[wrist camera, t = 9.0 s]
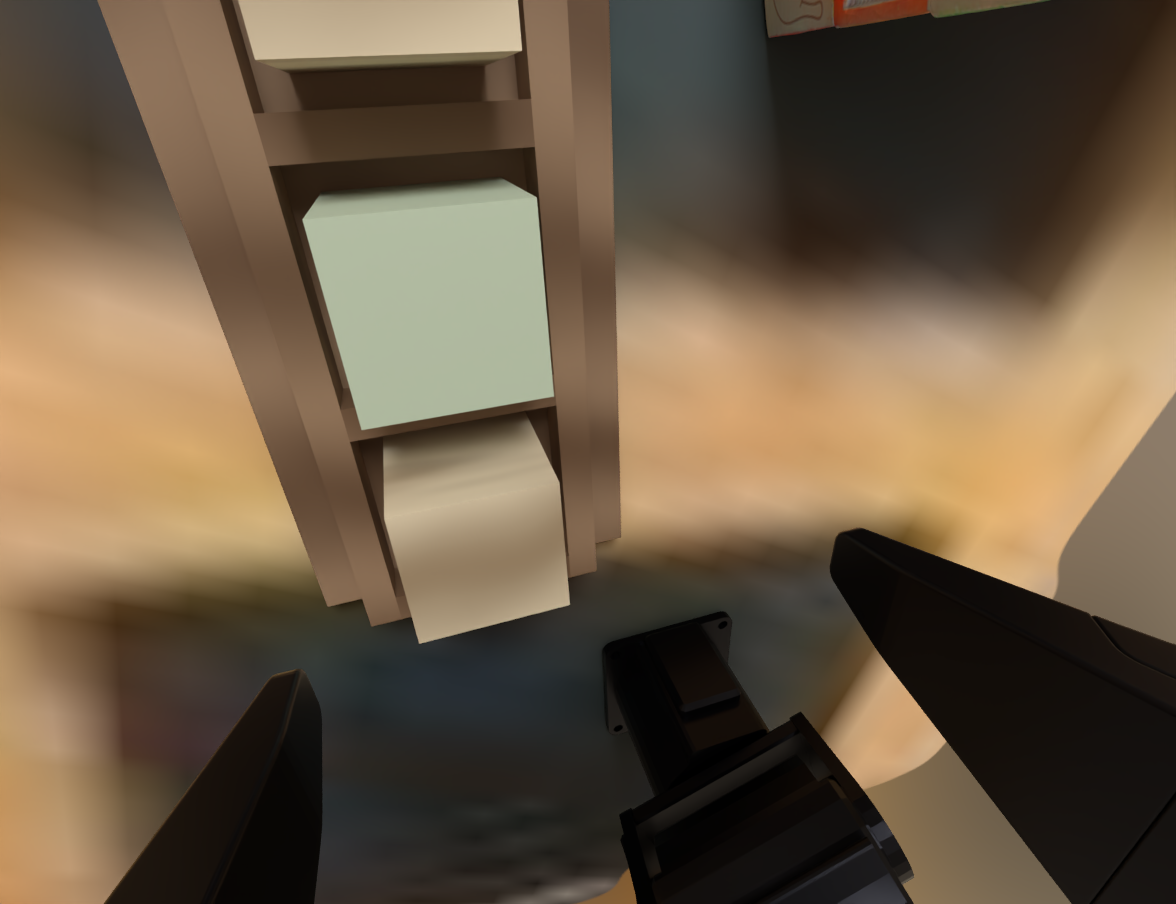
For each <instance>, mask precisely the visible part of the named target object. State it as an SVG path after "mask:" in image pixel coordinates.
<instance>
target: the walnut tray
mask: <svg viewBox="0 0 1176 904" xmlns="http://www.w3.org/2000/svg"><path fill="white" fill-rule="evenodd" d="M98 3H99V6H100V8H101V11H102V13H103V16H104V19H105V21H106V24H107V27H108V29H109V32H110V35H111V37H112V40H113V42H114V45H115V48H116V50H117V53H118V56H119V58H120V61H121V63H122V66H123V69H124V71H125V74H126V77H127V79H128V82H129V85H130V87H131V90H132V92H133V95H134V98H135V100H136V103H137V106H138V108H139V111H140V114H141V116H142V119H143V121H144V124H145V127H146V129H147V132H148V135H149V137H150V140H151V142H152V145H153V148H154V150H155V153H156V156H157V158H158V161H159V164H160V166H161V169H162V171H163V174H164V177H165V179H166V182H167V185H168V187H169V190H170V193H171V195H172V198H173V200H174V203H175V206H176V208H177V211H178V214H179V216H180V219H181V221H182V224H183V227H184V229H185V232H186V235H187V237H188V240H189V243H190V245H191V248H192V250H193V253H194V256H195V258H196V261H197V264H198V266H199V269H200V271H201V274H202V277H203V279H204V282H205V285H206V287H207V290H208V293H209V295H210V298H211V300H212V303H213V306H214V308H215V311H216V314H217V316H218V319H219V322H220V324H221V327H222V329H223V332H224V335H225V337H226V340H227V343H228V345H229V348H230V350H231V353H232V356H233V358H234V361H235V364H236V366H237V369H238V372H239V374H240V377H241V379H242V382H243V385H244V387H245V390H246V393H247V395H248V398H249V401H250V403H251V406H252V408H253V411H254V414H255V416H256V419H257V422H258V424H259V427H260V429H261V432H262V435H263V437H264V440H265V443H266V445H267V448H268V451H269V453H270V456H271V458H272V461H273V464H274V466H275V469H276V472H277V474H278V477H279V479H280V482H281V485H282V487H283V490H284V493H285V495H286V498H287V501H288V503H289V506H290V508H291V511H292V514H293V516H294V519H295V522H296V524H297V527H298V530H299V532H300V535H301V537H302V540H303V543H304V545H305V548H306V551H307V553H308V556H309V558H310V561H311V564H312V566H313V569H314V572H315V574H316V577H317V580H318V582H319V585H320V587H321V590H322V593H323V595H324V598H325V601H326V603H327V606H328V607H329V606H333V605H337V604H342V603H346V602H350V601H354V600H359V599H362V600H363V603H364V606H365V609H366V612H367V615H368V618H369V621H370V624H371V627H372V626H376V625H380V624H384V623H388V622H392V621H396V620H400V619H404V618H408V617H412V616H411V612H410V609H409V605H408V602H407V598H406V595H405V591H404V587H403V584H402V580H401V577H400V573H399V570H398V566H397V563H396V559H395V556H394V552H393V548H392V545H391V541H390V538H389V534H388V531H387V527H386V524H385V520H384V466H383V436H386V435H392V434H398V433H403V432H409V431H415V430H420V429H426V428H432V427H437V426H443V425H448V424H454V423H460V422H465V421H471V420H477V419H482V418H488V417H494V416H499V415H505V414H511V413H516V412H522V411H525V412H526V415H527V417H528V419H529V421H530V423H531V425H532V427H533V429H534V431H535V433H536V435H537V437H538V439H539V441H540V443H541V445H542V448H543V450H544V452H545V454H546V456H547V458H548V460H549V462H550V464H551V466H552V468H553V470H554V472H555V474H556V476H557V478H558V481H559V484H560V495H561V507H562V518H563V530H564V542H565V553H566V565H567V576H568V578H570V577H574V576H578V575H582V574H586V573H590V572H594V571H597V567H596V548H595V543H600V542H604V541H608V540H612V539H616V538H621V509H620V465H619V421H618V376H617V332H616V287H615V243H614V199H613V154H612V110H611V65H610V21H609V0H518V8H519V20H520V31H521V43H522V51H520V52H518V53H515V54H513V55H511V56H508V57H506V58H503V59H501V60H498V61H496V62H494V63H491V64H489V65H486V66H471V67H445V68H420V69H395V70H369V71H344V72H318V73H293V74H289V73H286V72H284V71H281V70H279V69H277V68H274V67H272V66H269V65H267V64H264V63H262V62H259V61H257V60H255V58H254V55H253V51H252V48H251V44H250V41H249V37H248V33H247V30H246V26H245V23H244V19H243V16H242V12H241V9H240V5H239V1H238V0H98ZM491 177H501V178H503V179H504V180H506V181H508V182H510V183H512V184H513V185H515V186H517V187H519V188H521V189H522V190H524V191H526V192H528V193H530V194H531V195H533V196H535V197H537V206H538V217H539V229H540V240H541V252H542V264H543V275H544V287H545V298H546V310H547V321H548V333H549V345H550V356H551V368H552V379H553V391H554V397H548V398H543V399H537V400H531V401H525V402H520V403H514V404H508V405H503V406H497V407H491V408H485V409H480V410H474V411H468V412H463V413H457V414H451V415H446V416H440V417H434V418H428V419H423V420H417V421H411V422H406V423H400V424H394V425H388V426H383V427H377V428H371V429H366V430H361V426H360V423H359V419H358V416H357V412H356V408H355V405H354V401H353V398H352V394H351V391H350V387H349V384H348V380H347V377H346V373H345V369H344V366H343V362H342V359H341V355H340V352H339V348H338V345H337V341H336V337H335V334H334V330H333V327H332V323H331V320H330V316H329V313H328V309H327V305H326V302H325V298H324V295H323V291H322V288H321V284H320V281H319V277H318V273H317V270H316V266H315V263H314V259H313V256H312V252H311V249H310V245H309V242H308V238H307V234H306V231H305V227H304V224H303V220H302V219H303V218H304V217H305V215H306V214H307V212H308V211H309V209H310V208H311V207H312V205H313V204H314V202H315V201H316V199H317V198H318V197H319V195H320V194H321V192H327V191H339V190H351V189H362V188H374V187H386V186H398V185H409V184H421V183H433V182H444V181H456V180H468V179H480V178H491Z"/></svg>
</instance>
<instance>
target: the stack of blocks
mask: <svg viewBox="0 0 1176 904" xmlns="http://www.w3.org/2000/svg"><path fill="white" fill-rule="evenodd" d="M1044 1H1049V0H765V12H766V24H767V31H768V36H769V38H772V37H778V36H785V35H794V34H800V33H804V32H807V31H813V30H818V29H823V28H828V27H833V26H835V27H836V28H844V27H851V26H858V25H864V24H870V23H876V22H882V21H887V20H893V19H899V18H904V17H910V16H916V15H921V14H926V13H931V14H932V15H933V16H934V17H935V18H940V17H949V16H955V15H962V14H966V13H975V12H982V11H988V10H993V9H1000V8H1006V7H1012V6H1019V5H1025V4H1032V3H1038V2H1044Z"/></svg>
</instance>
